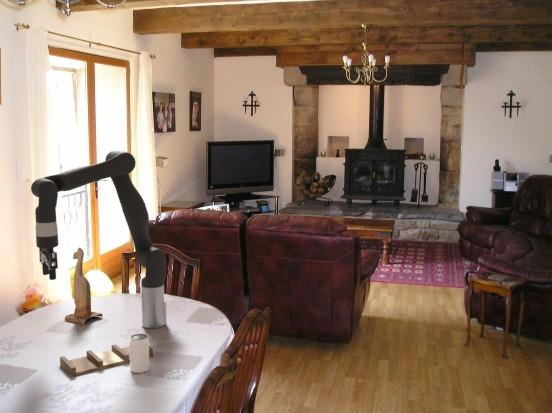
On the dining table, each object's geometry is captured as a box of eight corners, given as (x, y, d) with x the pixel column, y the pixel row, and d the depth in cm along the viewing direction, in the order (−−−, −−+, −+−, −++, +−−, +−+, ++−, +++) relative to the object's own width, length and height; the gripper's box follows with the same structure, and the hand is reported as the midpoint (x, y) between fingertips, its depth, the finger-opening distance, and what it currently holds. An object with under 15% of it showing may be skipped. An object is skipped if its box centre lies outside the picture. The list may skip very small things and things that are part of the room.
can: (131, 366, 216) (130, 333, 214) (150, 365, 216) (149, 333, 215) (129, 373, 209) (128, 340, 208) (148, 373, 210) (147, 339, 208)
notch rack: (139, 346, 234) (139, 338, 234) (153, 356, 225) (153, 348, 224) (60, 365, 216) (59, 357, 216) (71, 376, 207) (71, 368, 206)
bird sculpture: (82, 314, 272) (77, 243, 267) (103, 317, 267) (98, 245, 262) (64, 322, 262) (58, 248, 257) (85, 325, 257) (80, 250, 252)
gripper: (63, 235, 219) (65, 279, 222) (51, 229, 231) (53, 271, 233) (41, 238, 215) (44, 283, 218) (30, 231, 226) (33, 274, 229)
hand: (49, 277), depth 225 cm, fingers open, 8 cm apart
